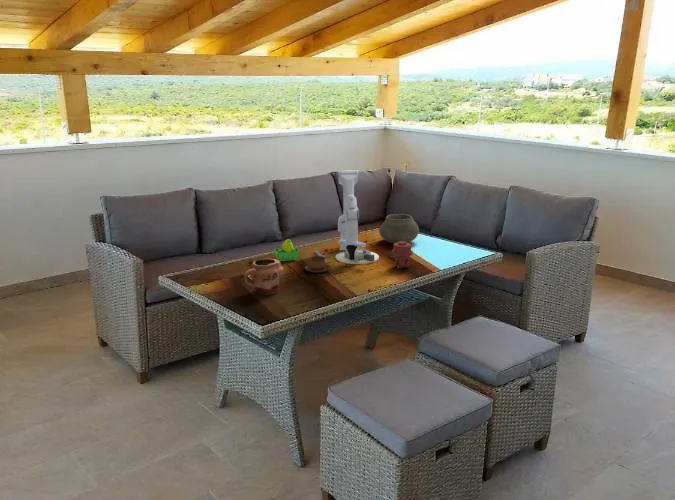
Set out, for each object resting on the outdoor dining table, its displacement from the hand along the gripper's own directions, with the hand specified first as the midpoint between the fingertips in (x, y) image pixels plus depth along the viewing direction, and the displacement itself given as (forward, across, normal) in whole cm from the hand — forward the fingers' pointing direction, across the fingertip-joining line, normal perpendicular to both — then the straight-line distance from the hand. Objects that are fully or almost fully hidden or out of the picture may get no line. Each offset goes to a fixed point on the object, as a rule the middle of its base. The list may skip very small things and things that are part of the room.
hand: (351, 259), depth 301 cm
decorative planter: (+2, -8, -58) cm, 58 cm away
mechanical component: (+2, +24, +7) cm, 25 cm away
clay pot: (+2, +2, +47) cm, 47 cm away
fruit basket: (+2, -31, -13) cm, 33 cm away
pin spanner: (+2, -21, +3) cm, 22 cm away
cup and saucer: (+2, -7, -19) cm, 21 cm away
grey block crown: (0, -2, +7) cm, 7 cm away
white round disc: (+2, -2, +9) cm, 9 cm away
